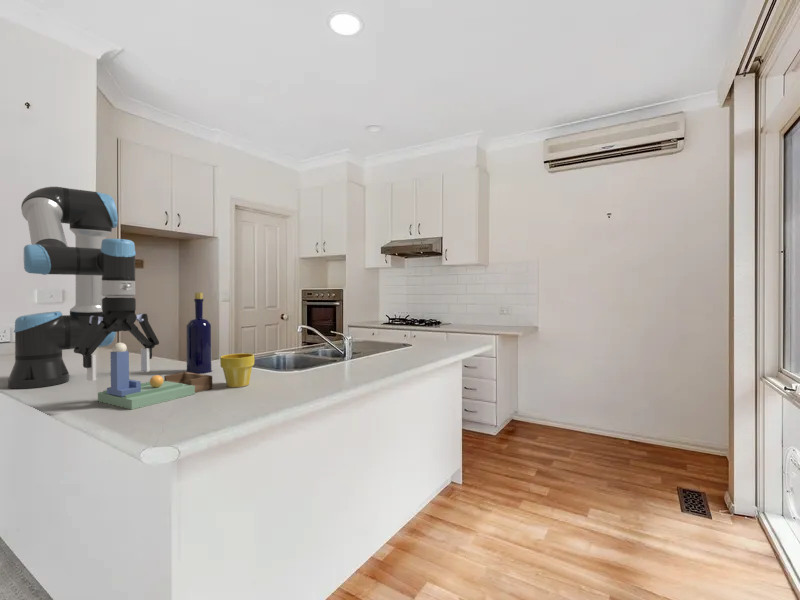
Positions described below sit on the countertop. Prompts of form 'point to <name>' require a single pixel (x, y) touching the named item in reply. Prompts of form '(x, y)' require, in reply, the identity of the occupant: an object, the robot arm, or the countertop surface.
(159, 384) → the ball
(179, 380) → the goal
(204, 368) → the bottle
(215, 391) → the countertop surface
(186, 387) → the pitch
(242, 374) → the plant pot
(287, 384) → the countertop surface
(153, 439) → the countertop surface
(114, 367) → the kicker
